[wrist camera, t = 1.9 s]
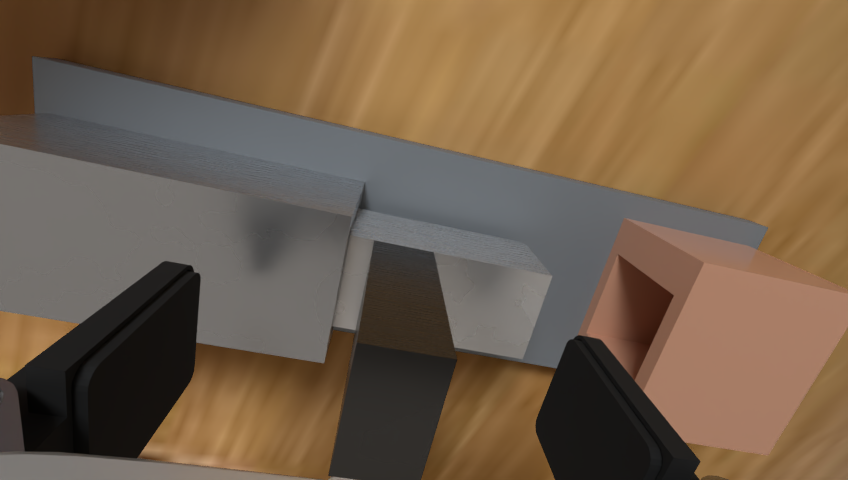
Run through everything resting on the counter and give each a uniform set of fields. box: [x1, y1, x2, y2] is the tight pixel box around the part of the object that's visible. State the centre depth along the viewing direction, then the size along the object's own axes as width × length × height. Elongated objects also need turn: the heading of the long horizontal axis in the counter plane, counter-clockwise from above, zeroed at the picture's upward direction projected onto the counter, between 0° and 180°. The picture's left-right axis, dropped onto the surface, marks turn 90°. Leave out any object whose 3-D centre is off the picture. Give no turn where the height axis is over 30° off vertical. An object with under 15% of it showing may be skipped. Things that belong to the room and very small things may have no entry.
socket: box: [577, 218, 848, 455], centre depth 18 cm, size 6×7×5 cm
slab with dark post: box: [329, 208, 552, 480], centre depth 13 cm, size 16×3×9 cm, turn 77°
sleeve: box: [0, 113, 365, 363], centre depth 15 cm, size 12×5×5 cm, turn 77°
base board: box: [32, 56, 768, 368], centre depth 19 cm, size 30×9×1 cm, turn 77°
